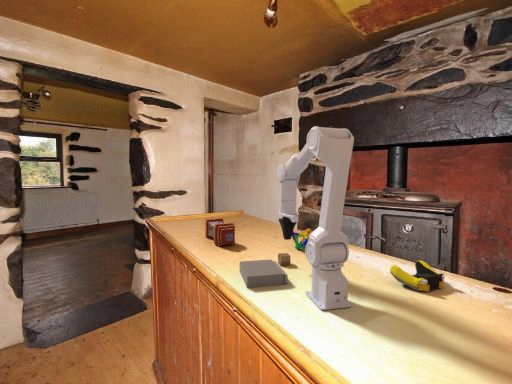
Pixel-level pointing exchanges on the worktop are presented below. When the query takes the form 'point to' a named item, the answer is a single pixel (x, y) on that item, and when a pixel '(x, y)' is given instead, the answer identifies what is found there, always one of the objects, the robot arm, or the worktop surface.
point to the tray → (283, 272)
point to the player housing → (261, 273)
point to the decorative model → (305, 238)
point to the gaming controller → (419, 277)
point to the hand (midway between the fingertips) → (287, 239)
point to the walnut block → (283, 259)
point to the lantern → (220, 231)
